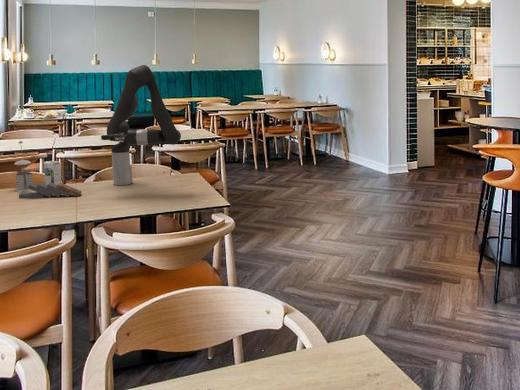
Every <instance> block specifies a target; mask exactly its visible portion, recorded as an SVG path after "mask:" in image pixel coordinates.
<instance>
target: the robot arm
mask: <svg viewBox="0 0 520 390" xmlns="http://www.w3.org/2000/svg"><path fill="white" fill-rule="evenodd" d="M124 81H125V82H124V86H123V89H122V92H121V95H120V96H119V99H118V101H117V105H116V107H115V110H114V112H113V114H112V116H111V118H110V120H109V121H108V123H107V126H106V134H102V135H100V138H101V139H100V140H102V141H110V142H118V143H117V144H114V145H112V146H111V149H110V150H111V151H110V152H111V164H112V178H113V179H112V180H113V185H115V186H127V185H131V183H133V182H134V181H133V166H132V165H131V156H130V155H131V154H130V152H131V151H130V147H131V146H145V145H158V144H159V145H160V144H169V145H172V146H173V145H176V144H178V143H179V142H180V141H181V139H182V133H181V132H180V131H179V129H177V128H176V126H175V124H174V122H173V119H172V117H171V115H170V112H169V111H168V109H167V107H166V105H165V103H164V101H163V97H162V95H161V92H160V90H159V86H158V83H157V81H156V78H155V76H154V73H153V71H152V70H151V68H150V67H149V66H148V65H146V64H141V65H139V66H137V67H136V66H135V67H134V68H131V69H130V70H128V72H127V73H126V77H125V80H124ZM143 87H147V89H148V91H149V95H150V109H151V110H150V111H151V114H152V116H153V118H154V119H155V121H156V123H157V125H158V126H159V128H160V129H147V128H145V129H144V128H136V129H135V128H132V129H131V128H130V125H129V123H128V121H127V120H129V119H130V118H132V116H133V115H134V114H135V113H136V110H137V108H138V106H139V100H138V97H137V96H136V95H137V92H138V91H139V90H140V89H142V88H143Z"/></svg>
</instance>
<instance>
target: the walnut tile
mask: <svg viewBox="0 0 520 390" xmlns="http://www.w3.org/2000/svg"><path fill="white" fill-rule="evenodd" d="M56 188H58V189H60V190H63V191H65V192H68V193H70V194H71V195H72V196H75V197H78V198H79V197H80V196H82V195H81V194H82V192H83V191H82V190H79V189H77V188H74V187H72V186H70V185H67V184H65V183H62V182H61V183H59V184H58V185H57V187H56Z"/></svg>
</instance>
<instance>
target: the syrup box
mask: <svg viewBox="0 0 520 390" xmlns="http://www.w3.org/2000/svg"><path fill="white" fill-rule="evenodd" d="M43 169H44V170H43V171H44V180H45V181H44V182H45V183H44V184H46V185H48V184H49V183H53V184H56V185H58V184H59V183H62V176H61V175H62V174H61V162H60V161H57V160H55V161H54V160H48V161H47V160H46V161H43Z"/></svg>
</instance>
